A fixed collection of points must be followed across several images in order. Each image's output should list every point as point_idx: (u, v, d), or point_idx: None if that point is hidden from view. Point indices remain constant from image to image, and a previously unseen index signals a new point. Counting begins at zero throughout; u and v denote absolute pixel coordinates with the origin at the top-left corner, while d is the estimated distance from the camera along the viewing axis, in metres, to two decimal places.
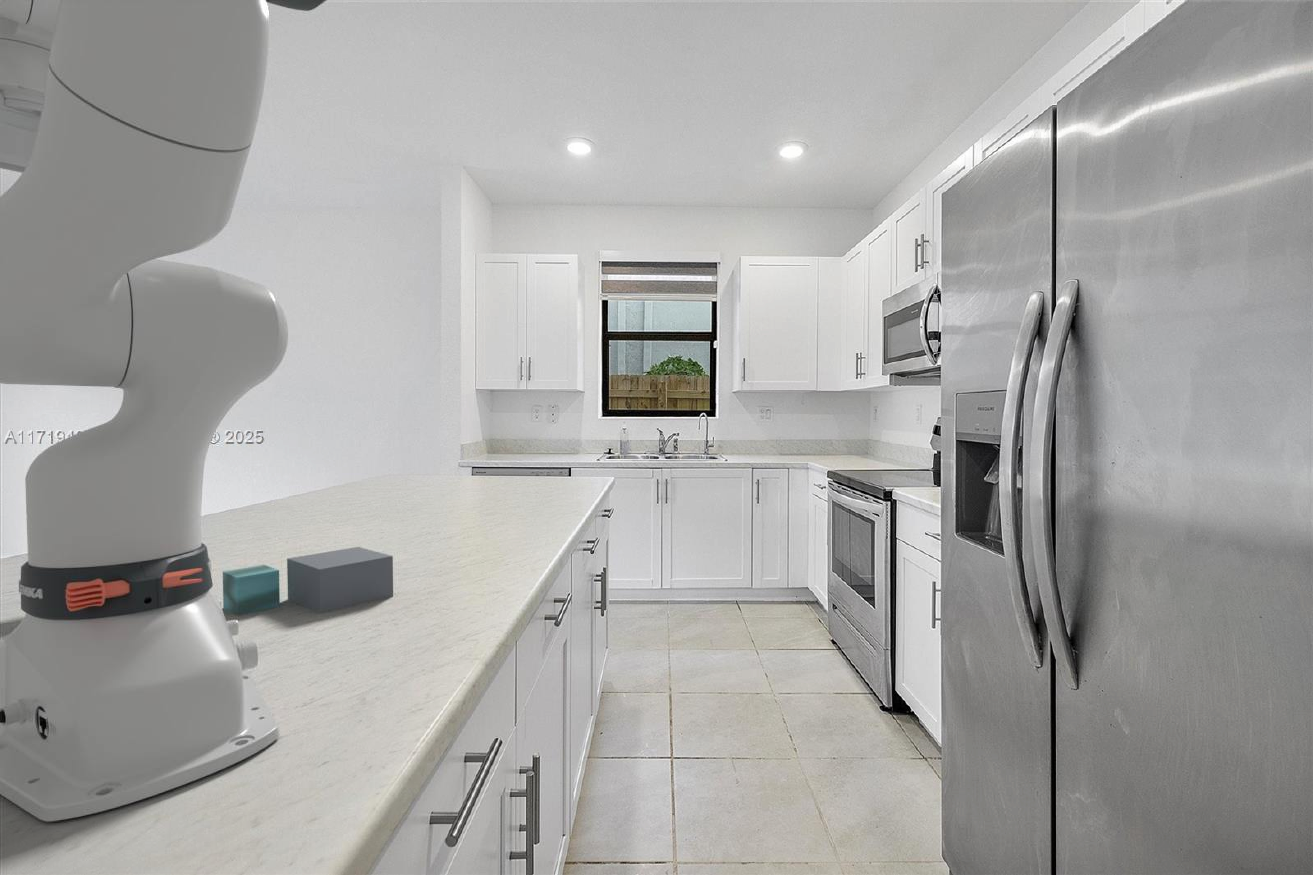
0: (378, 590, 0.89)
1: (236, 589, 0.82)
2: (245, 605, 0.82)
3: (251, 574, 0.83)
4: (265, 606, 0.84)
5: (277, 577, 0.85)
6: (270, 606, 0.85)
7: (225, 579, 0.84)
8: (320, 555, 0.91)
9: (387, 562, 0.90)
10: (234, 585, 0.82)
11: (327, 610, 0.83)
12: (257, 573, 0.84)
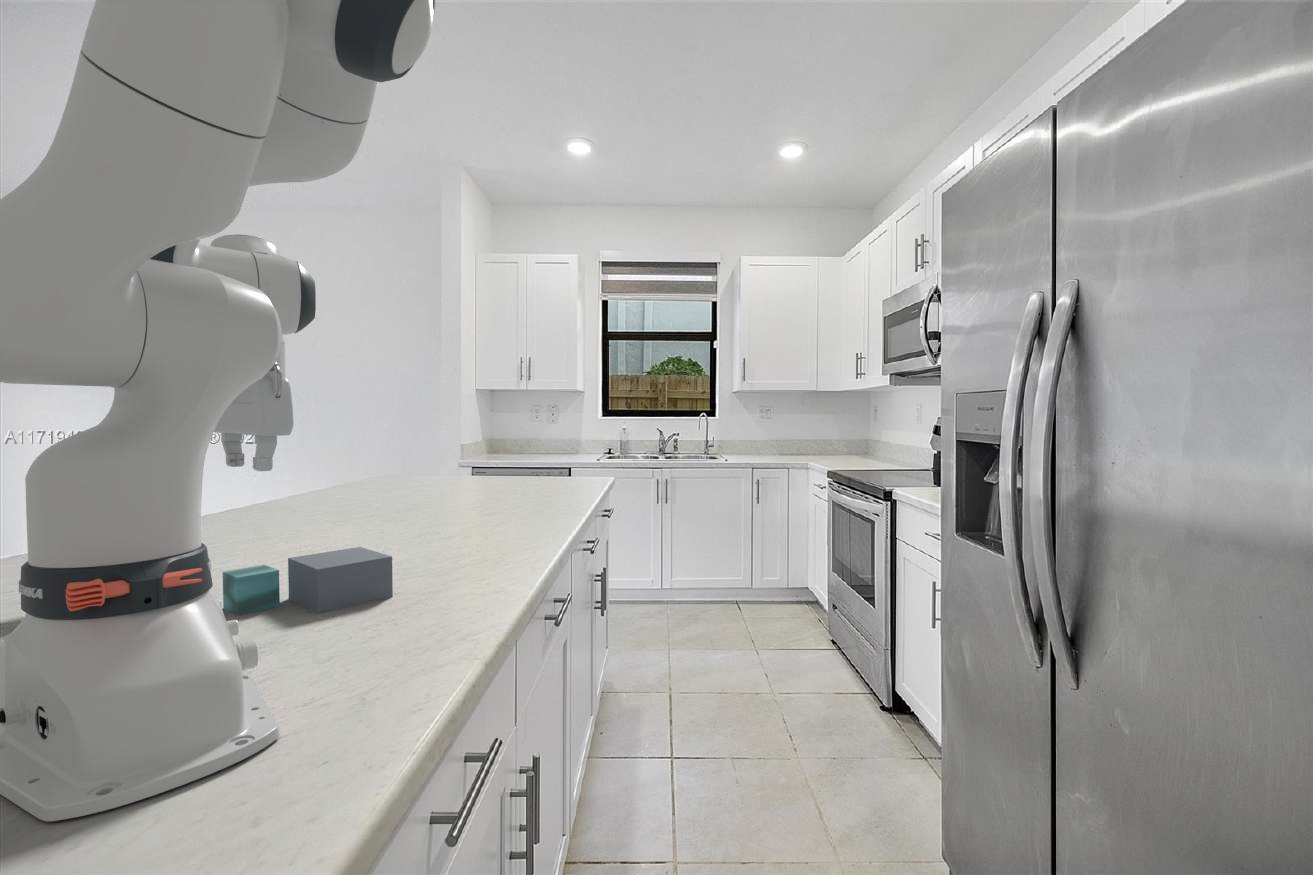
0: (377, 590, 0.88)
1: (236, 589, 0.82)
2: (245, 605, 0.82)
3: (251, 574, 0.83)
4: (265, 606, 0.84)
5: (277, 577, 0.85)
6: (270, 606, 0.85)
7: (225, 579, 0.84)
8: (321, 555, 0.91)
9: (386, 562, 0.89)
10: (234, 585, 0.82)
11: (325, 610, 0.83)
12: (257, 573, 0.84)
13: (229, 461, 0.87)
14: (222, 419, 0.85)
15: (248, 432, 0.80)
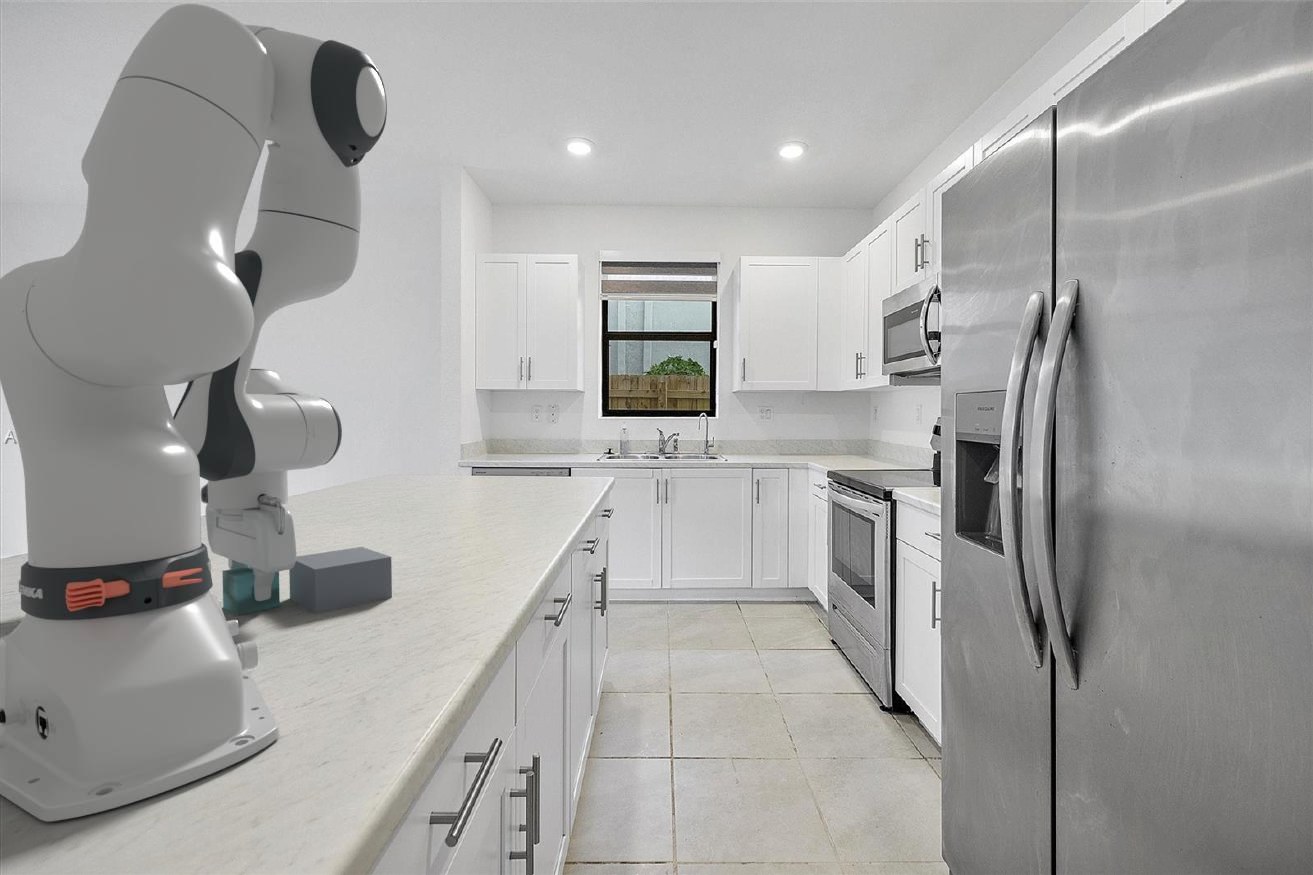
0: (376, 590, 0.88)
1: (236, 588, 0.82)
2: (245, 604, 0.82)
3: (251, 573, 0.83)
4: (265, 605, 0.84)
5: (277, 576, 0.85)
6: (270, 605, 0.85)
7: (225, 578, 0.84)
8: (322, 555, 0.91)
9: (385, 563, 0.89)
10: (234, 584, 0.82)
11: (323, 610, 0.83)
12: None
13: None
14: (225, 546, 0.86)
15: (251, 566, 0.80)
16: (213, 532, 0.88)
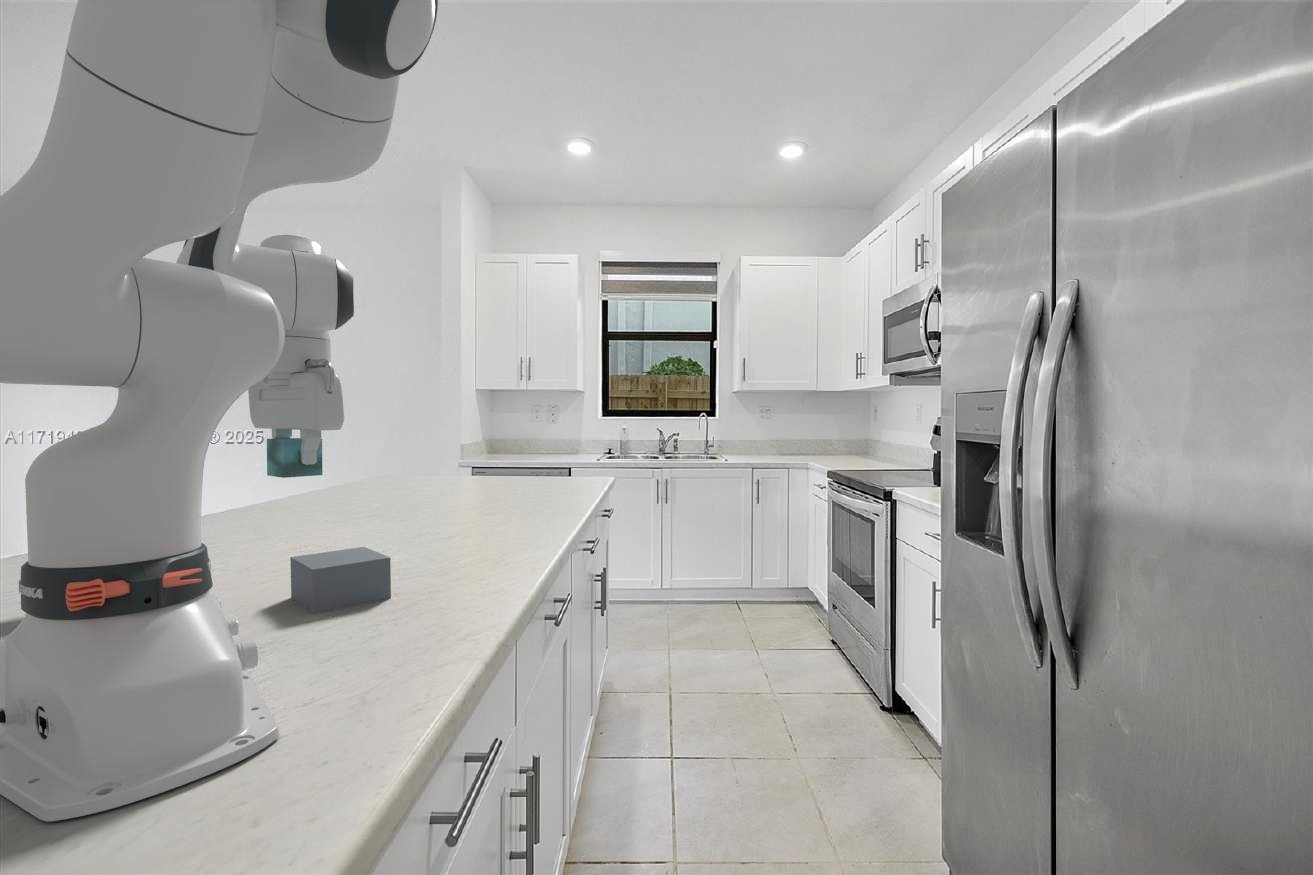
0: (374, 591, 0.88)
1: (282, 451, 0.83)
2: (290, 468, 0.84)
3: (296, 439, 0.85)
4: (309, 472, 0.86)
5: (320, 445, 0.87)
6: (313, 473, 0.86)
7: (270, 445, 0.86)
8: (323, 554, 0.91)
9: (384, 563, 0.89)
10: (279, 448, 0.84)
11: (320, 610, 0.83)
12: (301, 439, 0.85)
13: None
14: (270, 415, 0.87)
15: (299, 427, 0.82)
16: (256, 406, 0.90)
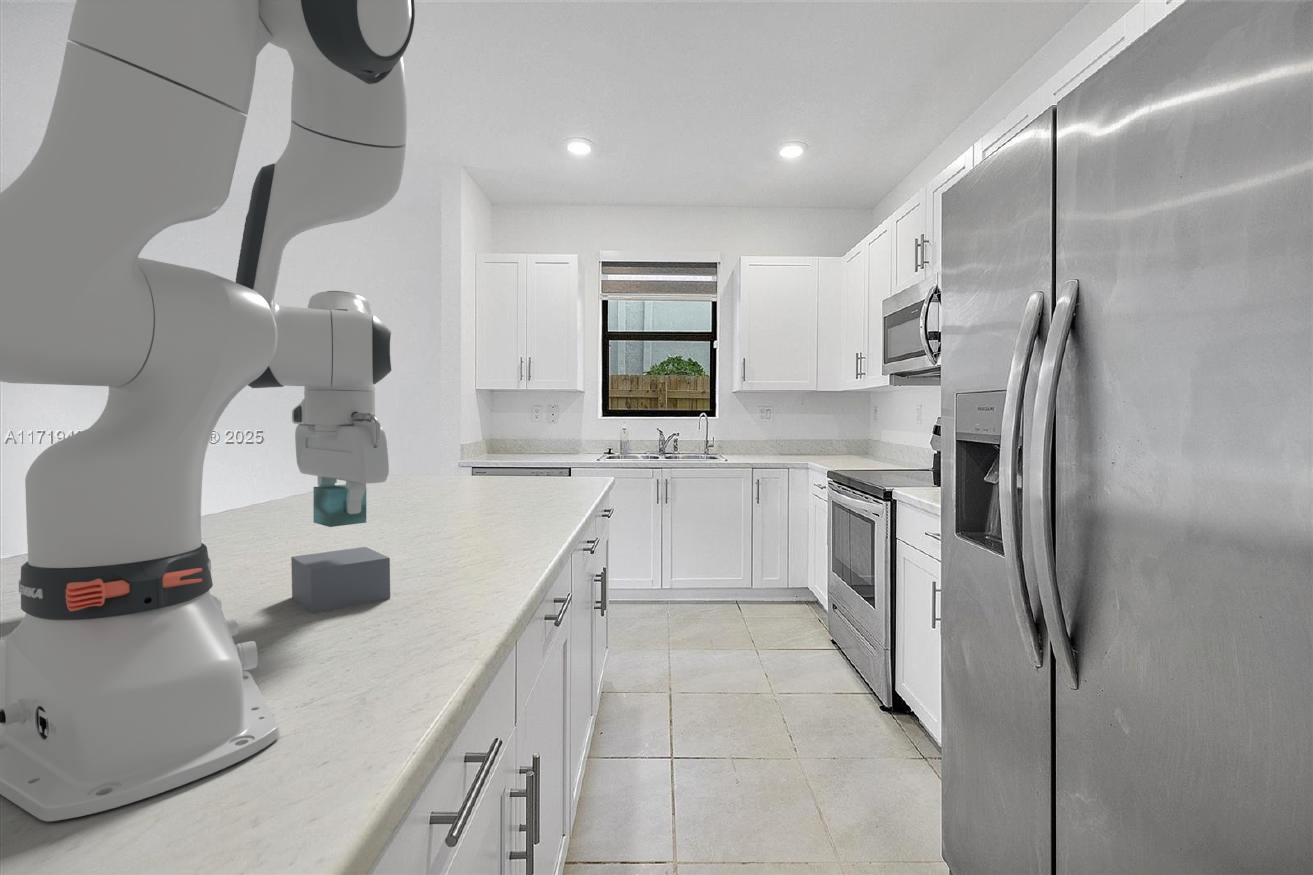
0: (373, 591, 0.88)
1: (329, 501, 0.86)
2: (336, 517, 0.86)
3: (342, 488, 0.87)
4: (354, 520, 0.88)
5: (364, 493, 0.89)
6: (358, 521, 0.89)
7: (316, 493, 0.88)
8: (323, 554, 0.91)
9: (384, 564, 0.89)
10: (326, 498, 0.86)
11: (319, 610, 0.83)
12: None
13: None
14: (316, 463, 0.90)
15: (346, 479, 0.84)
16: (302, 453, 0.92)
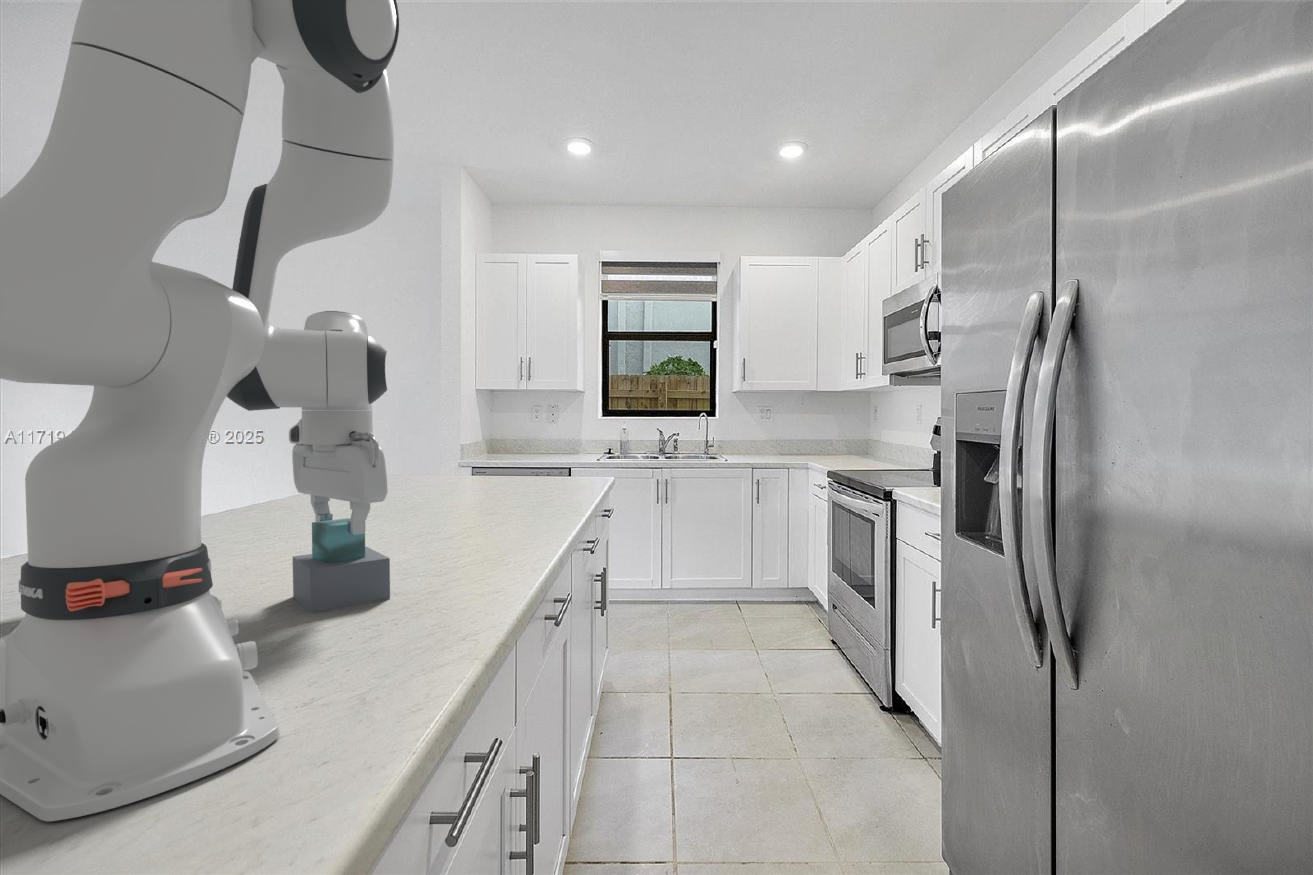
0: (373, 592, 0.88)
1: (327, 537, 0.86)
2: (335, 553, 0.86)
3: (340, 524, 0.87)
4: (352, 555, 0.88)
5: None
6: (357, 556, 0.89)
7: (315, 529, 0.88)
8: None
9: (383, 564, 0.88)
10: (325, 534, 0.86)
11: (318, 610, 0.83)
12: (345, 523, 0.88)
13: None
14: (314, 483, 0.90)
15: (344, 499, 0.84)
16: (300, 472, 0.92)
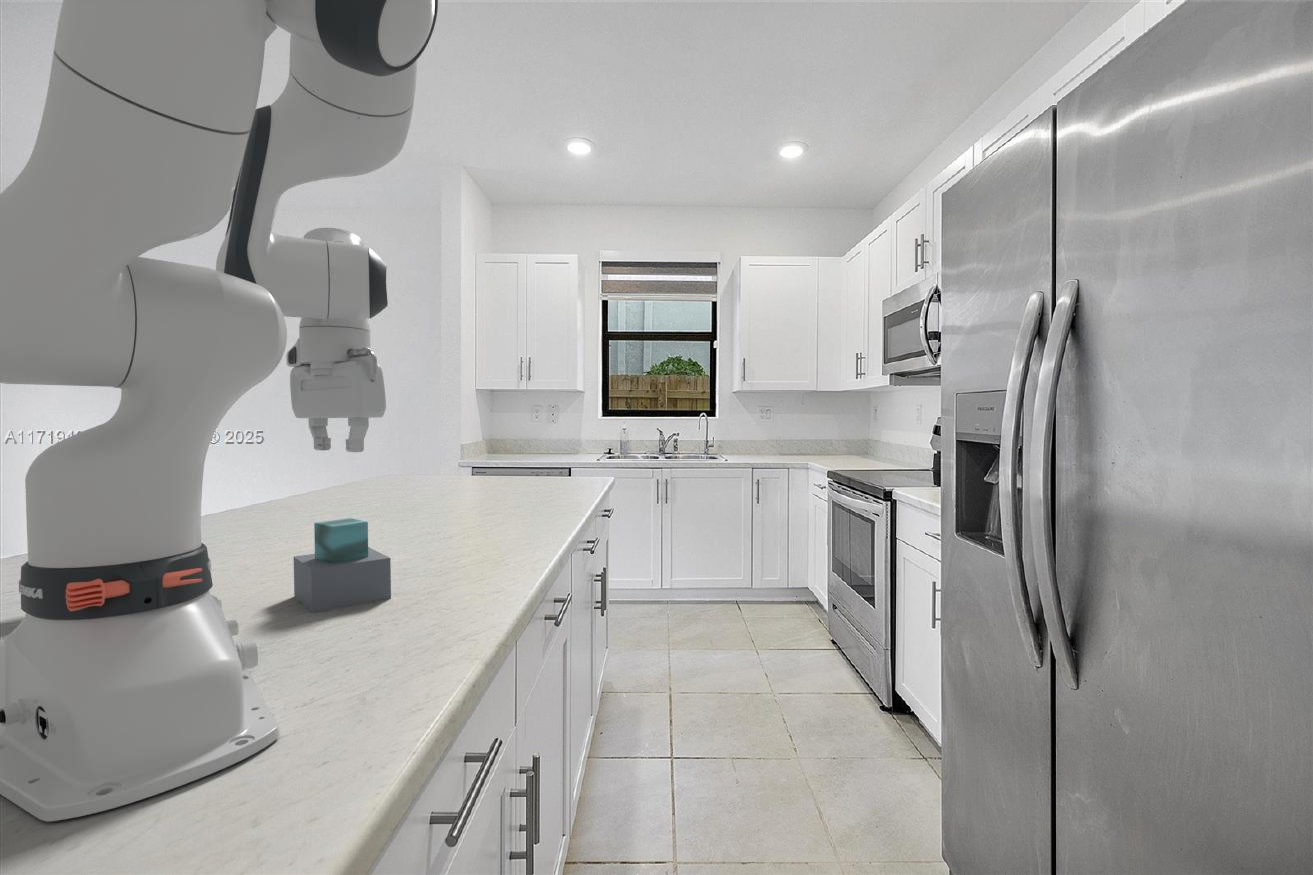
0: (374, 591, 0.88)
1: (331, 537, 0.86)
2: (339, 553, 0.86)
3: (343, 524, 0.87)
4: (356, 555, 0.88)
5: (366, 528, 0.89)
6: (360, 555, 0.89)
7: (318, 529, 0.88)
8: None
9: (384, 564, 0.89)
10: (328, 534, 0.86)
11: (319, 610, 0.83)
12: (349, 523, 0.88)
13: (317, 445, 0.91)
14: (312, 405, 0.89)
15: (343, 415, 0.84)
16: (297, 396, 0.92)
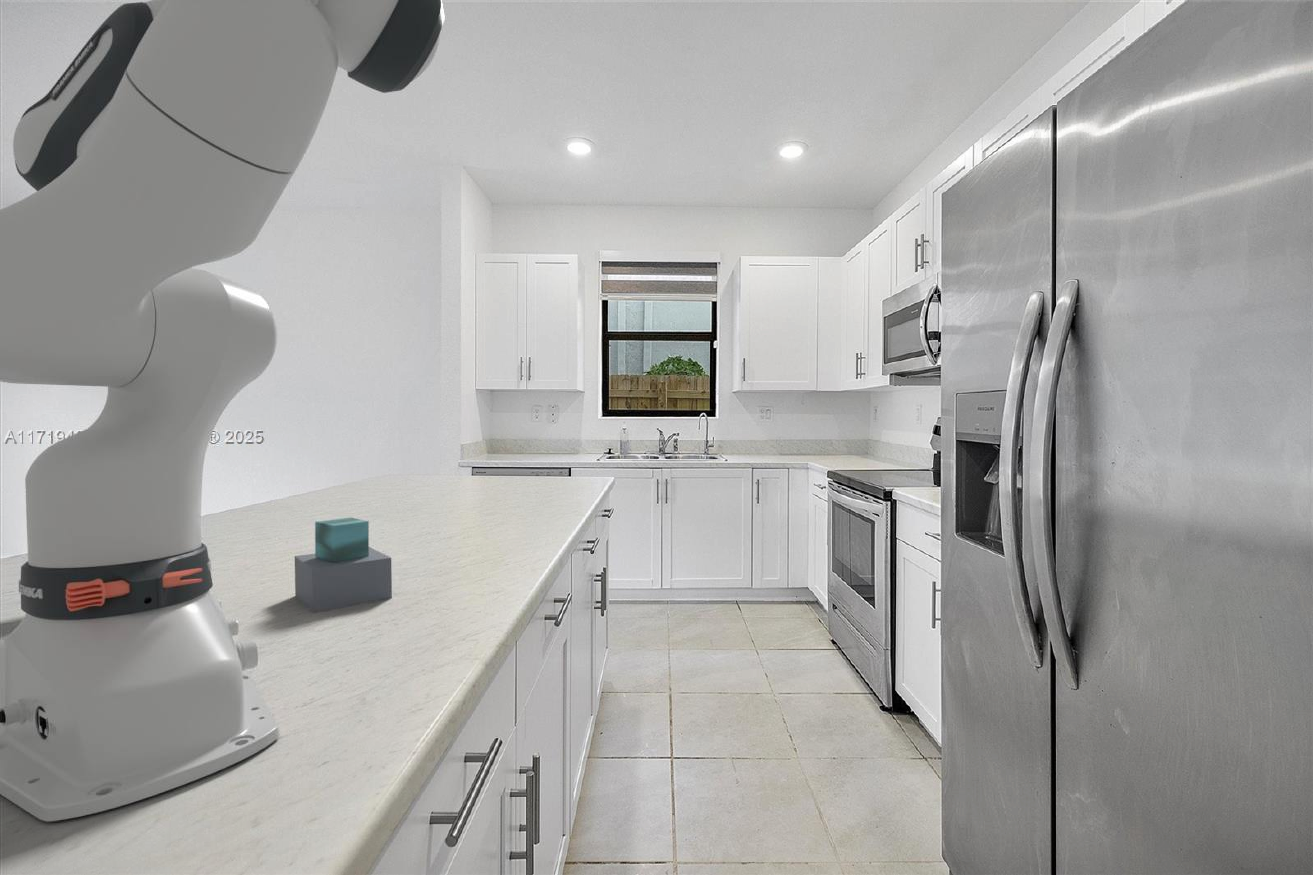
0: (375, 591, 0.88)
1: (332, 536, 0.86)
2: (339, 552, 0.87)
3: (344, 523, 0.88)
4: (356, 554, 0.89)
5: (367, 527, 0.90)
6: (360, 555, 0.89)
7: (319, 528, 0.88)
8: None
9: (385, 564, 0.89)
10: (329, 533, 0.87)
11: (320, 610, 0.84)
12: (350, 523, 0.88)
13: None
14: None
15: None
16: None
